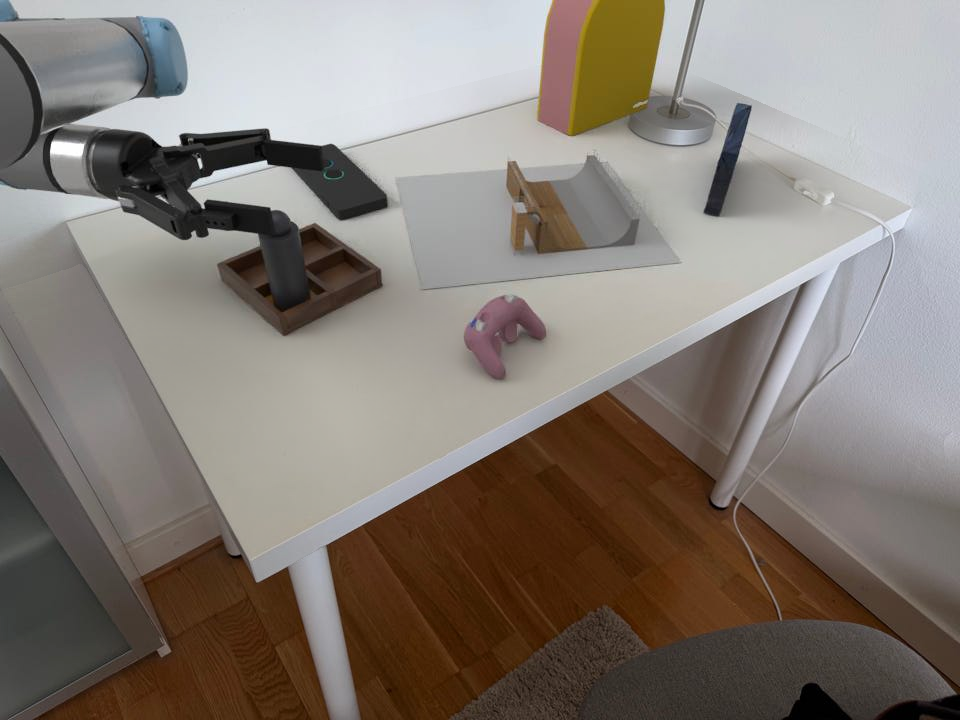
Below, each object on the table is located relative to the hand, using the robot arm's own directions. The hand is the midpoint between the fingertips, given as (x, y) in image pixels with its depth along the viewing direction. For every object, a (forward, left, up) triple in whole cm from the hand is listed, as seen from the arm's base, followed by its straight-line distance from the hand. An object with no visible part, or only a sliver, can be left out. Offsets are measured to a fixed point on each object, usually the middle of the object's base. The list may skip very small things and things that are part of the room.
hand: (298, 188), depth 71 cm
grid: (+2, +6, -16) cm, 18 cm away
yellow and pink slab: (+70, +15, -17) cm, 74 cm away
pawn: (-2, +3, -16) cm, 16 cm away
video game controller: (+12, -20, -17) cm, 28 cm away
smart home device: (+19, +24, -17) cm, 35 cm away
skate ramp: (+35, -2, -17) cm, 38 cm away
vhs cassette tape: (+64, -16, -17) cm, 68 cm away
